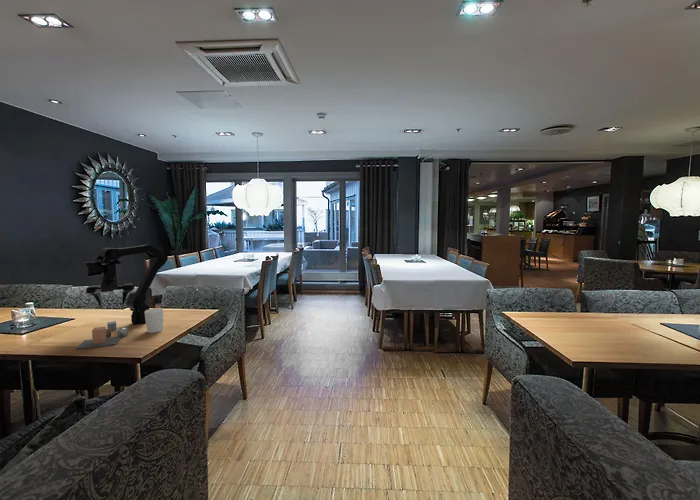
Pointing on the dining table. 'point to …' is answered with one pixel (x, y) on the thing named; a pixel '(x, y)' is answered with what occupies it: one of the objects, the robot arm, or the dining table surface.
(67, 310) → the dining table surface
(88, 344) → the charcoal mat
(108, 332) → the walnut block
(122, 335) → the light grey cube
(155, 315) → the white cup
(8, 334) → the dining table surface
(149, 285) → the robot arm
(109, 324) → the slate block
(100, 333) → the terracotta block
